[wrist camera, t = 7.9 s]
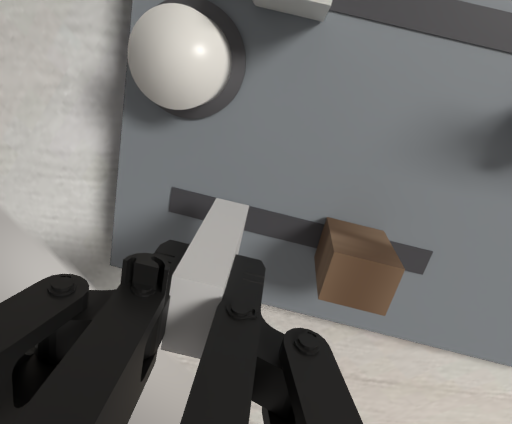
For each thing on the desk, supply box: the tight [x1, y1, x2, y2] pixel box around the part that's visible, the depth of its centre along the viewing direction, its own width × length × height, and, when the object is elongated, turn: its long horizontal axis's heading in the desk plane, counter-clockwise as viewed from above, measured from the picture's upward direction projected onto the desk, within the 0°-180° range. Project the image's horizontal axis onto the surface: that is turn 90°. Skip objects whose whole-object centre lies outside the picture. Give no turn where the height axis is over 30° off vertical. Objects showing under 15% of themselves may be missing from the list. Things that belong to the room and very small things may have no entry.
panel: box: [110, 0, 512, 367], centre depth 18 cm, size 28×18×5 cm, turn 77°
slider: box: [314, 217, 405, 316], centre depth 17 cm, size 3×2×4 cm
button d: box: [127, 3, 232, 110], centre depth 16 cm, size 4×4×2 cm
